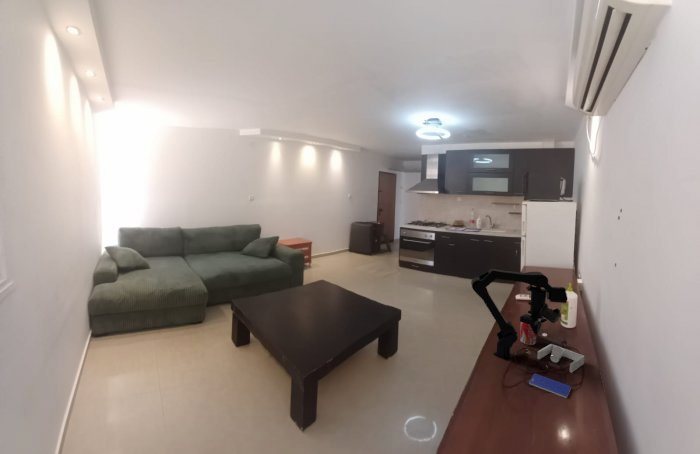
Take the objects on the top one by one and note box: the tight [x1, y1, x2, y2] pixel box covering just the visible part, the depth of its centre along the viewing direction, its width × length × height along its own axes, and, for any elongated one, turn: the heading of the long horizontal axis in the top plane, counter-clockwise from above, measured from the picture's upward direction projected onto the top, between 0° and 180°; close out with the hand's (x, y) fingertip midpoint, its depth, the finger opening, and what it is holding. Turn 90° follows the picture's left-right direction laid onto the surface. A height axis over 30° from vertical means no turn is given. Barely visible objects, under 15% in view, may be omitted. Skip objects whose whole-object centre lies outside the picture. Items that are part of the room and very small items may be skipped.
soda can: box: [519, 322, 537, 346], centre depth 154 cm, size 7×7×12 cm
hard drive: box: [528, 373, 572, 399], centre depth 120 cm, size 2×8×12 cm
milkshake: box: [550, 345, 564, 364], centre depth 140 cm, size 4×5×10 cm
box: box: [537, 343, 586, 374], centre depth 137 cm, size 13×14×4 cm
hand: (536, 334), depth 137 cm, fingers closed
